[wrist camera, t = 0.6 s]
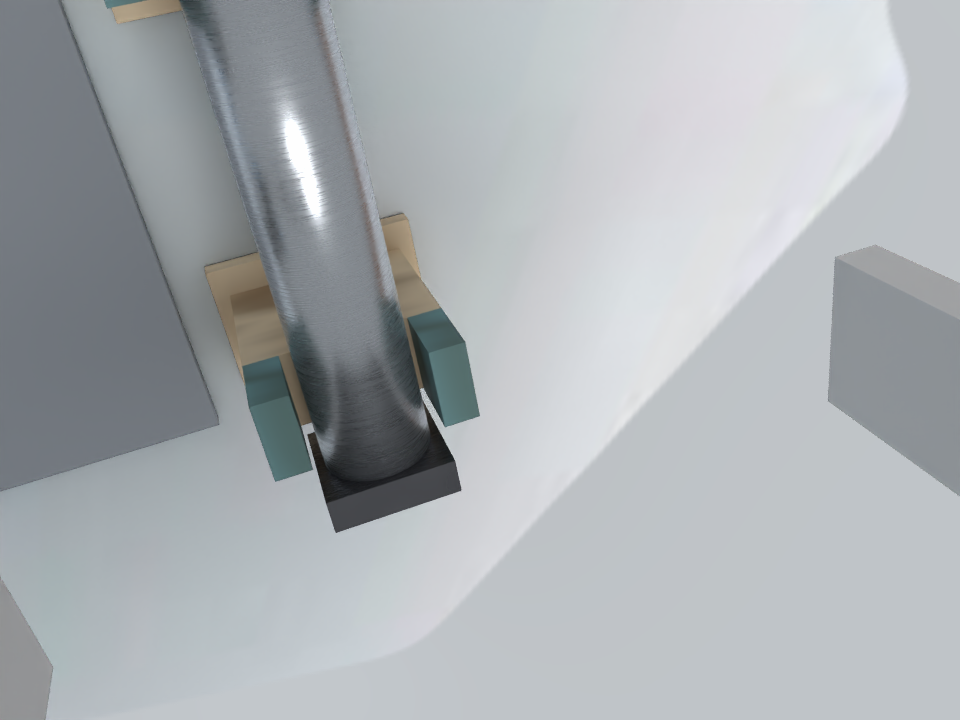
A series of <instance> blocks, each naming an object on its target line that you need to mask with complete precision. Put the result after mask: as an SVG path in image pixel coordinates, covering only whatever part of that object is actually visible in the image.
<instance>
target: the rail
mask: <svg viewBox="0 0 960 720" xmlns="http://www.w3.org/2000/svg"><path fill="white" fill-rule="evenodd" d="M179 2H180V5H181V9H182V12H183V15H184V18H185V21H186V24H187V28H188V31H189V34H190V37H191V40H192V43H193V47H194V50H195V53H196V56H197V59H198V63H199V66H200V69H201V72H202V75H203V78H204V82H205V85H206V88H207V91H208V94H209V97H210V101H211V104H212V107H213V110H214V113H215V116H216V120H217V123H218V126H219V129H220V132H221V135H222V139H223V142H224V145H225V148H226V151H227V154H228V158H229V161H230V164H231V167H232V170H233V174H234V177H235V180H236V183H237V186H238V189H239V193H240V196H241V199H242V202H243V205H244V208H245V212H246V215H247V218H248V221H249V224H250V227H251V231H252V234H253V237H254V240H255V243H256V246H257V250H258V253H259V256H260V259H261V262H262V266H263V269H264V272H265V275H266V278H267V281H268V285H269V288H270V291H271V294H272V297H273V300H274V304H275V307H276V310H277V313H278V316H279V319H280V323H281V326H282V329H283V332H284V335H285V338H286V342H287V345H288V348H289V351H290V354H291V357H292V361H293V364H294V367H295V370H296V373H297V377H298V380H299V383H300V386H301V389H302V392H303V396H304V399H305V402H306V405H307V408H308V411H309V415H310V418H311V421H312V424H313V427H314V430H315V432H314V433H311V434H308V439H309V442H310V446H311V450H312V453H313V457H314V461H315V464H316V468H317V472H318V475H319V479H320V483H321V486H322V490H323V494H324V497H325V501H326V504H327V507H328V511H329V514H330V517H331V520H332V523H333V526H334V529H335V532H336V533H337V532H340V531H343V530H346V529H349V528H352V527H355V526H358V525H361V524H364V523H367V522H370V521H373V520H376V519H379V518H382V517H384V516H387V515H390V514H393V513H396V512H399V511H402V510H405V509H408V508H411V507H414V506H417V505H420V504H423V503H426V502H429V501H432V500H435V499H438V498H441V497H444V496H447V495H450V494H453V493H456V492H458V491H461V485H460V481H459V476H458V472H457V467H456V463H455V460H454V458H453V456H452V454H451V452H450V450H449V449H448V447H447V445H446V443H445V441H444V439H443V437H442V435H441V434H440V432H439V430H438V428H437V426H436V424H435V422H434V420H433V419H432V417H431V415H430V413H429V411H428V409H427V407H426V405H425V404H424V402H423V400H422V396H421V392H420V388H419V384H418V379H417V375H416V371H415V367H414V362H413V358H412V354H411V350H410V345H409V341H408V337H407V333H406V328H405V324H404V320H403V316H402V311H401V307H400V303H399V299H398V294H397V290H396V286H395V282H394V277H393V273H392V269H391V265H390V260H389V256H388V252H387V247H386V243H385V239H384V235H383V230H382V226H381V222H380V218H379V213H378V209H377V205H376V201H375V196H374V192H373V188H372V184H371V179H370V175H369V171H368V167H367V162H366V158H365V154H364V150H363V145H362V141H361V137H360V133H359V128H358V124H357V120H356V116H355V111H354V107H353V103H352V99H351V94H350V90H349V86H348V82H347V77H346V73H345V69H344V65H343V60H342V56H341V52H340V48H339V43H338V39H337V35H336V31H335V26H334V22H333V18H332V14H331V9H330V5H329V1H328V0H179Z"/></svg>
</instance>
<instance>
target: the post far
mask: <svg viewBox="0 0 960 720" xmlns="http://www.w3.org/2000/svg"><path fill="white" fill-rule="evenodd" d="M380 222H381V226H382V230H383V235H384V239H385V243H386V247H387V252H388V256H389V260H390V265H391V269H392V273H393V277H394V282H395V286H396V290H397V294H398V299H399V303H400V307H401V311H402V316H403V320H404V324H405V328H406V333H407V337H408V341H409V345H410V350H411V354H412V358H413V362H414V367H415V371H416V375H417V379H418V384H419V388H420V389H421V388H424V390H425V391H426V393H427V395H428V397H429V399H430V401H431V402H432V404H433V406H434V408H435V410H436V412H437V413H438V415H439V417H440V419H441V421H442V422H443V424H444V426H445V427H447V426H450V425H454V424H457V423H460V422H463V421H466V420H469V419H472V418H475V417H478V416H480V414H479V409H478V404H477V399H476V394H475V389H474V384H473V379H472V374H471V369H470V364H469V359H468V354H467V349H466V344H465V341H464V340H463V338H462V337H461V335H460V334H459V333H458V331H457V330H456V328H455V327H454V325H453V324H452V323H451V321H450V320H449V318H448V317H447V316H446V314H445V313H444V311H443V310H442V309H441V307H440V306H439V304H438V303H437V301H436V300H435V299H434V297H433V296H432V294H431V293H430V292H429V290H428V289H427V287H426V286H425V284H424V283H423V282H422V280H421V277H420V272H419V267H418V263H417V258H416V254H415V249H414V244H413V240H412V235H411V231H410V226H409V221H408V219H407V217H406V216H405V215H404V214H403V213H402V214H399V215H395V216H391V217H388V218H384V219H380ZM205 274H206V277H207V280H208V283H209V286H210V289H211V291H212V294H213V297H214V300H215V303H216V306H217V308H218V311H219V314H220V317H221V320H222V323H223V325H224V328H225V331H226V334H227V337H228V340H229V342H230V345H231V348H232V351H233V354H234V357H235V359H236V362H237V365H238V368H239V371H240V374H241V376H242V379H243V382H244V385H245V387H246V393H247V399H248V405H249V409H250V412H251V415H252V417H253V420H254V423H255V426H256V429H257V431H258V434H259V437H260V440H261V443H262V446H263V448H264V451H265V454H266V457H267V460H268V462H269V465H270V468H271V471H272V474H273V477H274V479H275V482H276V481H279V480H283V479H286V478H289V477H292V476H295V475H298V474H301V473H304V472H307V471H311V470H313V468H312V465H311V461H310V457H309V453H308V450H307V446H306V442H305V438H304V434H303V431H302V427H301V426H302V425H305V424H308V423H311V422H312V421H311V418H310V415H309V411H308V408H307V405H306V402H305V399H304V396H303V392H302V389H301V386H300V383H299V380H298V377H297V373H296V370H295V367H294V364H293V361H292V357H291V354H290V351H289V348H288V345H287V342H286V338H285V335H284V332H283V329H282V326H281V323H280V319H279V316H278V313H277V310H276V307H275V304H274V300H273V297H272V294H271V291H270V288H269V285H268V281H267V278H266V275H265V272H264V269H263V266H262V262H261V259H260V256H259V253H254V254H250V255H246V256H243V257H239V258H235V259H232V260H228V261H224V262H220V263H217V264H213V265H209V266H206V267H205Z"/></svg>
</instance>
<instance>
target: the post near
mask: <svg viewBox="0 0 960 720" xmlns="http://www.w3.org/2000/svg"><path fill="white" fill-rule="evenodd" d="M104 1H105V4H106V7H107V9H108V8H112V11H113V14H114V17H115V19H116V22H117V24H120V23H124V22H129V21H134V20H139V19H143V18H148V17H153V16H158V15H162V14H167V13H172V12H176V11H181V10H182V9H181V5H180V2H179V0H104Z"/></svg>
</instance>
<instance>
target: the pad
mask: <svg viewBox="0 0 960 720" xmlns="http://www.w3.org/2000/svg"><path fill="white" fill-rule="evenodd" d="M216 425H219V419H218V415H217V413H216V410H215V407H214V405H213V402H212V399H211V397H210V394H209V391H208V389H207V386H206V384H205V381H204V378H203V376H202V373H201V370H200V368H199V365H198V362H197V360H196V357H195V355H194V352H193V349H192V347H191V344H190V341H189V339H188V336H187V333H186V331H185V328H184V326H183V323H182V320H181V318H180V315H179V312H178V310H177V307H176V304H175V302H174V299H173V296H172V294H171V291H170V289H169V286H168V283H167V281H166V278H165V275H164V273H163V270H162V267H161V265H160V262H159V260H158V257H157V254H156V252H155V249H154V246H153V244H152V241H151V238H150V236H149V233H148V231H147V228H146V225H145V223H144V220H143V217H142V215H141V212H140V209H139V207H138V204H137V201H136V199H135V196H134V194H133V191H132V188H131V186H130V183H129V180H128V178H127V175H126V172H125V170H124V167H123V165H122V162H121V159H120V157H119V154H118V151H117V149H116V146H115V143H114V141H113V138H112V136H111V133H110V130H109V128H108V125H107V122H106V120H105V117H104V114H103V112H102V109H101V106H100V104H99V101H98V99H97V96H96V93H95V91H94V88H93V85H92V83H91V80H90V77H89V75H88V72H87V70H86V67H85V64H84V62H83V59H82V56H81V54H80V51H79V48H78V46H77V43H76V41H75V38H74V35H73V33H72V30H71V27H70V25H69V22H68V19H67V17H66V14H65V11H64V9H63V6H62V4H61V1H60V0H0V491H3V490H7V489H10V488H13V487H16V486H20V485H23V484H26V483H29V482H33V481H36V480H39V479H43V478H46V477H49V476H52V475H56V474H59V473H62V472H66V471H69V470H72V469H75V468H79V467H82V466H85V465H88V464H92V463H95V462H98V461H102V460H105V459H108V458H111V457H115V456H118V455H121V454H125V453H128V452H131V451H134V450H138V449H141V448H144V447H148V446H151V445H154V444H157V443H161V442H164V441H167V440H170V439H174V438H177V437H180V436H184V435H187V434H190V433H193V432H197V431H200V430H203V429H207V428H210V427H213V426H216Z"/></svg>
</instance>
